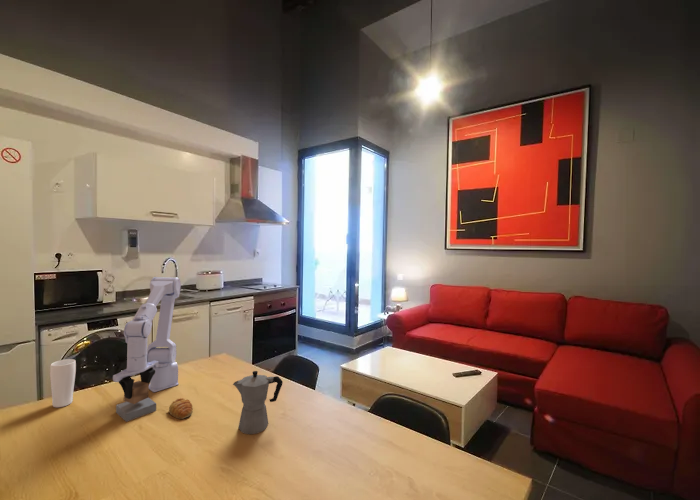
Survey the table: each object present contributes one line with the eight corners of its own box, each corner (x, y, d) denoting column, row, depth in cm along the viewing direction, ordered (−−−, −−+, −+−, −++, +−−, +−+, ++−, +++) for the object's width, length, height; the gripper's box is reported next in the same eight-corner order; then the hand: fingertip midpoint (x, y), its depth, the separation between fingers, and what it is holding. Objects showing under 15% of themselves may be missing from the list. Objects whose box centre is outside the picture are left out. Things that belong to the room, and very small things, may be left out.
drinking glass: (63, 409, 109) (63, 366, 109) (43, 408, 109) (44, 365, 109) (80, 400, 116) (81, 359, 115) (62, 399, 116) (62, 358, 115)
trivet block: (145, 403, 116) (145, 395, 115) (156, 411, 110) (156, 403, 110) (116, 413, 108) (116, 404, 108) (126, 423, 103) (126, 414, 103)
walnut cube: (138, 394, 112) (138, 380, 112) (148, 397, 111) (148, 383, 111) (123, 400, 108) (124, 386, 108) (134, 403, 106) (134, 389, 106)
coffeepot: (230, 438, 96) (232, 379, 96) (232, 421, 105) (234, 367, 105) (282, 430, 101) (284, 374, 100) (280, 415, 110) (281, 363, 109)
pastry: (197, 415, 108) (198, 404, 108) (176, 423, 104) (176, 411, 103) (187, 405, 115) (187, 394, 115) (166, 412, 110) (166, 401, 110)
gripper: (149, 347, 117) (148, 383, 117) (107, 360, 104) (106, 401, 104) (163, 350, 115) (162, 387, 115) (121, 363, 101) (120, 406, 101)
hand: (136, 394), depth 109 cm, fingers closed on walnut cube, 5 cm apart
